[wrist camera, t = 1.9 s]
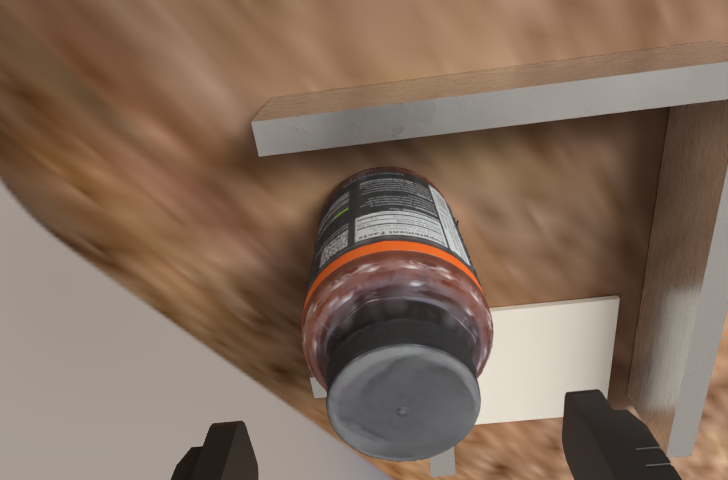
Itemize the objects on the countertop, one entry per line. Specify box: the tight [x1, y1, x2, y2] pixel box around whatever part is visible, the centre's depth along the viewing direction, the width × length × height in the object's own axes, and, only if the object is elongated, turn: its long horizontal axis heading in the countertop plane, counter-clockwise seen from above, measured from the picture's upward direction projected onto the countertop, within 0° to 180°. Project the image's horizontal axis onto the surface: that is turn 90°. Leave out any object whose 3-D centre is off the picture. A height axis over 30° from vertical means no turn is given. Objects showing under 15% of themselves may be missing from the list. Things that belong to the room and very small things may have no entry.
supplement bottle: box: [301, 167, 494, 462], centre depth 18 cm, size 6×6×11 cm
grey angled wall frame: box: [251, 41, 728, 477], centre depth 22 cm, size 18×17×4 cm
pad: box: [475, 295, 620, 424], centre depth 26 cm, size 8×8×1 cm
